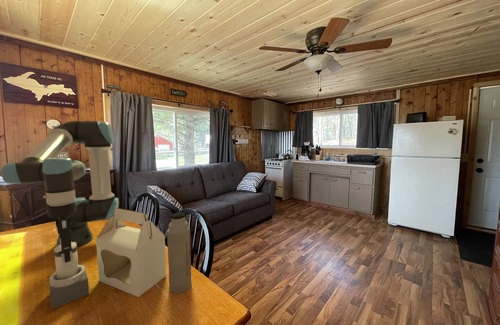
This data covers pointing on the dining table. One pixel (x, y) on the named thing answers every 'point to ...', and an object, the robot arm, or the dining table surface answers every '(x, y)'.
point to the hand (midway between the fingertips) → (67, 261)
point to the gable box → (131, 253)
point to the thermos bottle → (179, 254)
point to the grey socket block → (68, 288)
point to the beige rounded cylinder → (58, 263)
